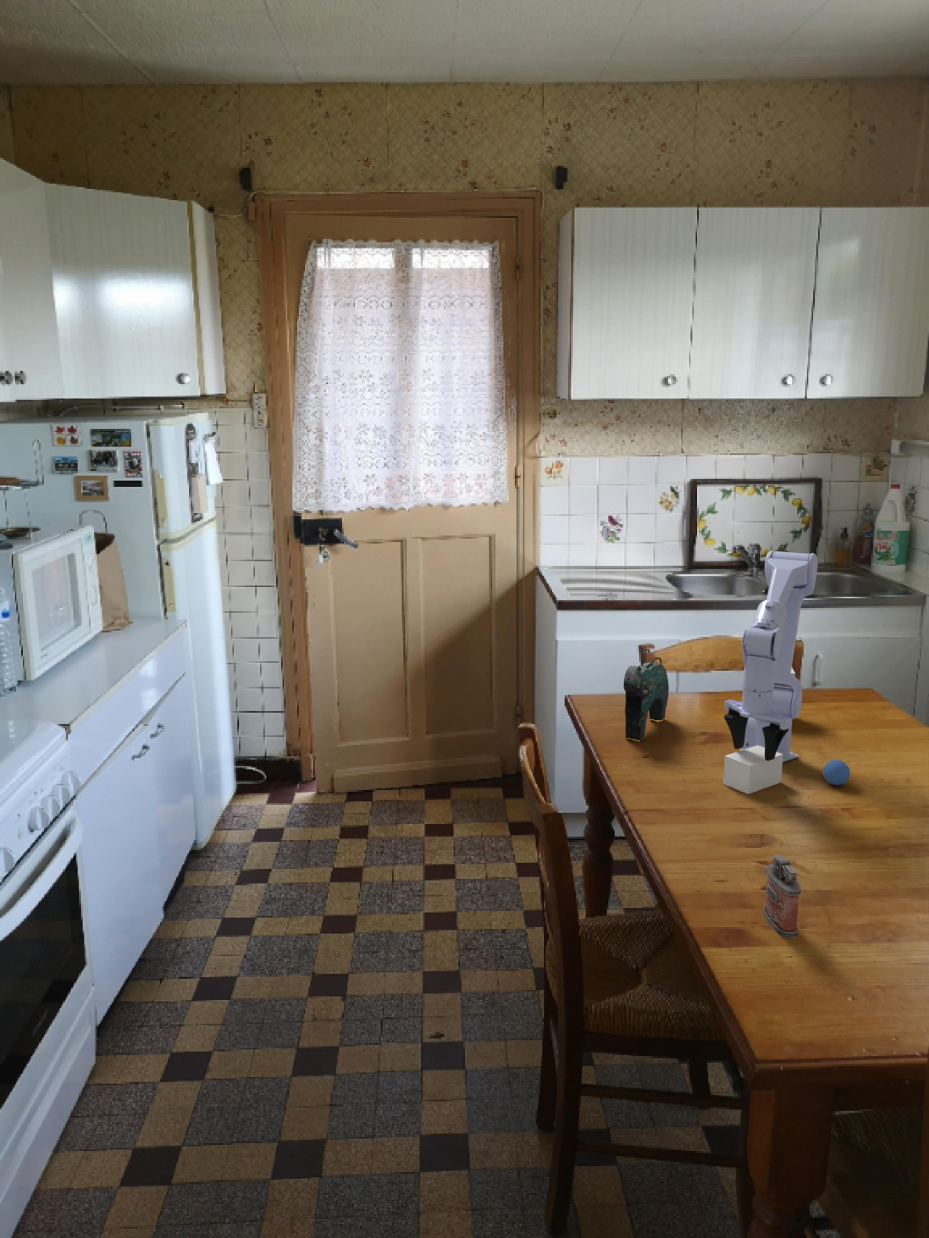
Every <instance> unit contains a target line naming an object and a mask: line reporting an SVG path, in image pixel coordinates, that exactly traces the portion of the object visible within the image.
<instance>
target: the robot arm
mask: <svg viewBox="0 0 929 1238" xmlns="http://www.w3.org/2000/svg"><path fill="white" fill-rule="evenodd" d="M818 561H819V559H818V556H817V555H816V554H815V553H814V552H812V553H803V552H801V553H800V552H792V551H791V552H788V551H779V550H777V551H776V550H774V549H773V550H770V551H768V553H767V554H766V556H765V560H764V562H765V563H764V577H765V579H766V583H767V586H768V591H767V597H766V600H763V601H761V602H760V603H759V604H758V606H757V608H756V612H755V615H754V618H753V620H752V623H751V626H750V628H749V629H745V630H744V632H743V636H742V640H741V654H742V665H743V666H744V671H743V686H742V697H741V698H742V699H741V701H739V700H734V699H728V700H724V707H723V708H724V710H723V711H725V712H727V713H726V714H724V715H723V719H724V721H725V723H726V724H727V726H728V729H729V732H730V734H731V735H730V736H731V740H732V743H733V749H735V750H739V751H741V750H744V749H747V748H750V747H754V746H757V745H759V746H762V747H764V748H765V760H767V761H770V760H773V759H774V758H775V755H776V752H778V753H781V754H783V762H782V764H783V763H785V762H788V761H791V760H795V759H797V758H798V757H799V754H797V753H794V752H791V741H792V730H793V729H792V727H793V719H794V720H796V719H797V718H798V717H799V716H800V713H801V710H802V702H803V695H802V694H803V684H802V682H801V681H800V680H799V679H798V678H797V677H796V675H795V676H794V675H793V674H792V673H791V668H793V666H792V665H793V661H794V653H795V647H796V640H797V635H798V628H799V622H800V614H801V608H802V606H803V602H804V600H805V597H806V598H807V597H808V596H810V595H813V593H814V590H815V587H816V582H817V581H816V580H817V575H818V566H819V565H818V564H819V562H818ZM774 685H779V686H786V687H791V688H793V689H789V688H782V687H775V686H774Z"/></svg>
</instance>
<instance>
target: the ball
mask: <svg viewBox="0 0 929 1238" xmlns="http://www.w3.org/2000/svg"><path fill="white" fill-rule="evenodd" d="M823 766H824V767H823V769H822V774H823V777H824V779H825V780H826V781H827V782H828V783H829V784H831V785H833V786H842V785H844V784H846V783H847V782H848V781H849V779H850V776H851V771H850V767H849V765H848V764H847V763H846V762H845V761H842V760H839V759H832V760H829V761H828V762H827V763H826V764H825V765H823Z"/></svg>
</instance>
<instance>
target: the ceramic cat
mask: <svg viewBox="0 0 929 1238" xmlns="http://www.w3.org/2000/svg"><path fill="white" fill-rule="evenodd" d="M646 652H647V653H648V654H650V653H651V650H650V649H649V648H646V649H644V650H643V651H642V653H641V659H640V660H641V662H640V665H630V666H628V668H626V671H625V673H624V677H623V690H624V692H625V695H624V698H625V706H624V713H625V714H624V715H625V728H624V730H625V739H626V738H631V739H636V740H641V739H642V738H643V739H644V738H645V733H646V727H647V720H648V719H649V718H650V719H654V720H663V719H664V718H665V719H666V710H667V706H668V700H669V693H670V690H669V689H670V687H669V686H670V685H669V678H668V672H667V669H666V668H665V666H664V665H663V661H662V657H660V656H656V657H654V658H652V659H651V660H650V662H644V656H645V654H646ZM655 660H658V661H659V663H655ZM648 717H649V718H648ZM665 719H664V720H665ZM641 741H642V740H641Z"/></svg>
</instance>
